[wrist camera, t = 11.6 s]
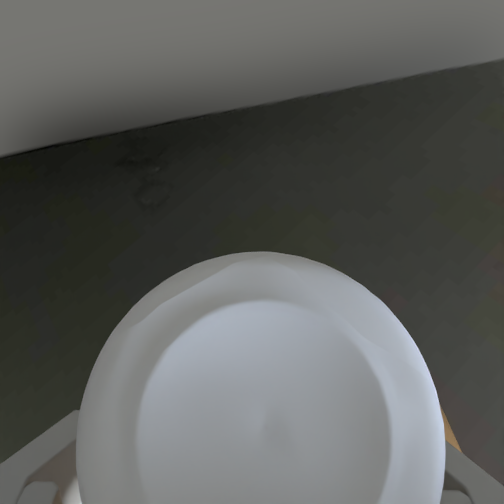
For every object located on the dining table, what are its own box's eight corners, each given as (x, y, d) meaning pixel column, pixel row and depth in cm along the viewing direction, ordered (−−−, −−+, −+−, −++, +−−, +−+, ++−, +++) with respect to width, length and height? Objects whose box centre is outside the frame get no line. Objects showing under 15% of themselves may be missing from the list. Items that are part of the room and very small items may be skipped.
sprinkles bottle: (195, 476, 17) (79, 740, 4) (178, 359, 18) (49, 276, 5) (307, 449, 17) (525, 607, 4) (281, 337, 19) (391, 213, 6)
